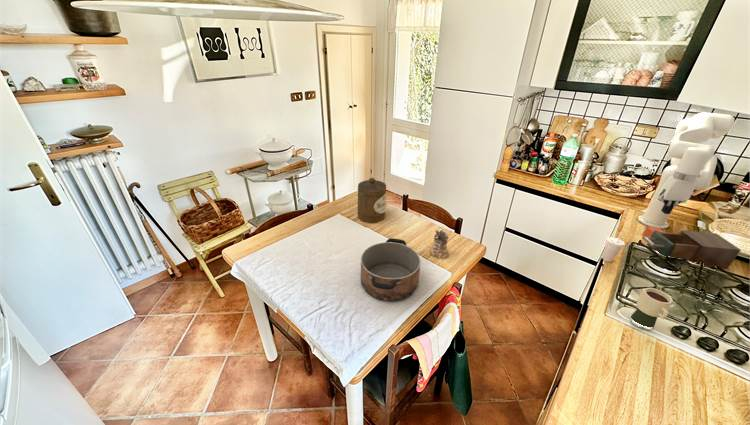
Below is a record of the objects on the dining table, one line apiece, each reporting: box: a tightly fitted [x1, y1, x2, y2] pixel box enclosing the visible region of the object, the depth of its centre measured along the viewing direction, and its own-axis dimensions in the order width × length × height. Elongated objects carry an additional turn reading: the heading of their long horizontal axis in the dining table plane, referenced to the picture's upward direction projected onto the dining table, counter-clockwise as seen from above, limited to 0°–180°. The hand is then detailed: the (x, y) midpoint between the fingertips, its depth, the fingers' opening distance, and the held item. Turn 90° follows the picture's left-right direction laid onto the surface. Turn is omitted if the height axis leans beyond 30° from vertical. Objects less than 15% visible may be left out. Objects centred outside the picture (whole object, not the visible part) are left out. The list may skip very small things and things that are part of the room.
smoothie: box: [601, 231, 626, 263], centre depth 130 cm, size 6×6×14 cm
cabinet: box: [678, 229, 742, 270], centre depth 133 cm, size 14×13×10 cm
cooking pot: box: [360, 237, 421, 302], centre depth 116 cm, size 30×22×11 cm
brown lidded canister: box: [357, 177, 387, 224], centre depth 159 cm, size 15×15×22 cm
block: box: [642, 225, 664, 238], centre depth 148 cm, size 5×5×5 cm
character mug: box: [630, 287, 673, 328], centre depth 99 cm, size 11×7×13 cm, turn 175°
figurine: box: [430, 229, 449, 259], centre depth 132 cm, size 7×7×12 cm
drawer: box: [641, 230, 700, 261], centre depth 135 cm, size 18×12×8 cm, turn 80°
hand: (665, 212), depth 141 cm, fingers closed
